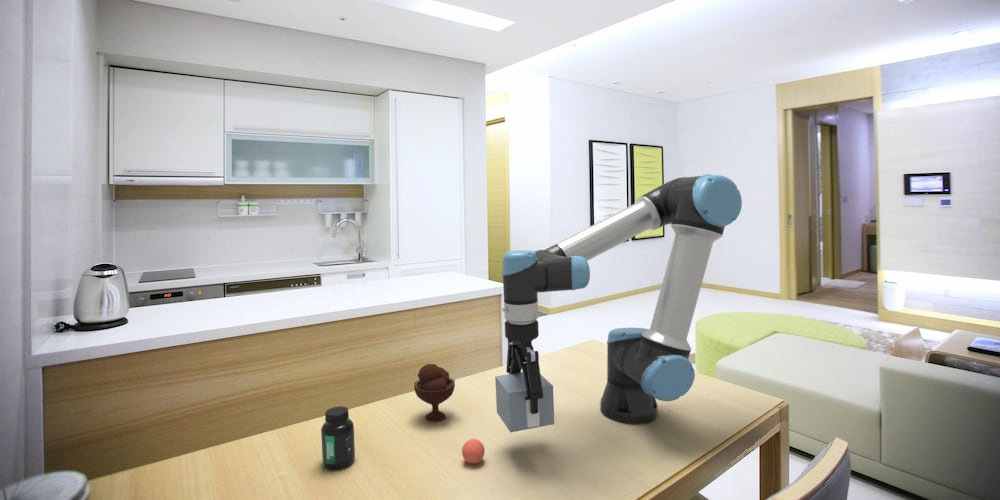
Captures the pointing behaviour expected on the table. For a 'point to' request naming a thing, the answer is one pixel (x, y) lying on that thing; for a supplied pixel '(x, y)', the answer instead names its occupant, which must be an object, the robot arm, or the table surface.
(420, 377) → the ice cream bowl
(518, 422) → the block
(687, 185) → the robot arm
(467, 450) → the ball
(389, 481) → the table surface
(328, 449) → the supplement bottle
